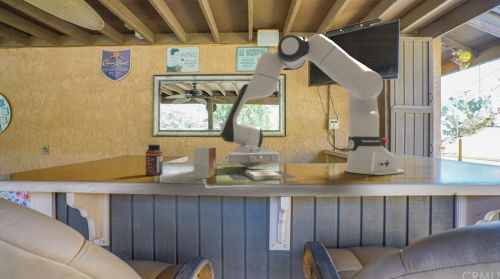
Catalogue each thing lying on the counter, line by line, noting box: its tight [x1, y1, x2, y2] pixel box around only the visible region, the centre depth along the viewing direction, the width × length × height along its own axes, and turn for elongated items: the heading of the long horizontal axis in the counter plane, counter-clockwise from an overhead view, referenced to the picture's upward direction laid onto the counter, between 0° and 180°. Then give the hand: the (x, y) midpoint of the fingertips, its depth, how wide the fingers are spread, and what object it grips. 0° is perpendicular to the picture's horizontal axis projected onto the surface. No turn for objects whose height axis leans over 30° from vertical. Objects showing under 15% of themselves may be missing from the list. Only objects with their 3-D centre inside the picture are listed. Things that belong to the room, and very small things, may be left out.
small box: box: [193, 146, 217, 180], centre depth 99 cm, size 8×6×10 cm
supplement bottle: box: [145, 143, 163, 177], centre depth 105 cm, size 6×6×11 cm
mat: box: [225, 170, 298, 181], centre depth 100 cm, size 22×16×1 cm
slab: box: [244, 169, 283, 181], centre depth 97 cm, size 9×1×14 cm
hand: (258, 159), depth 102 cm, fingers closed
